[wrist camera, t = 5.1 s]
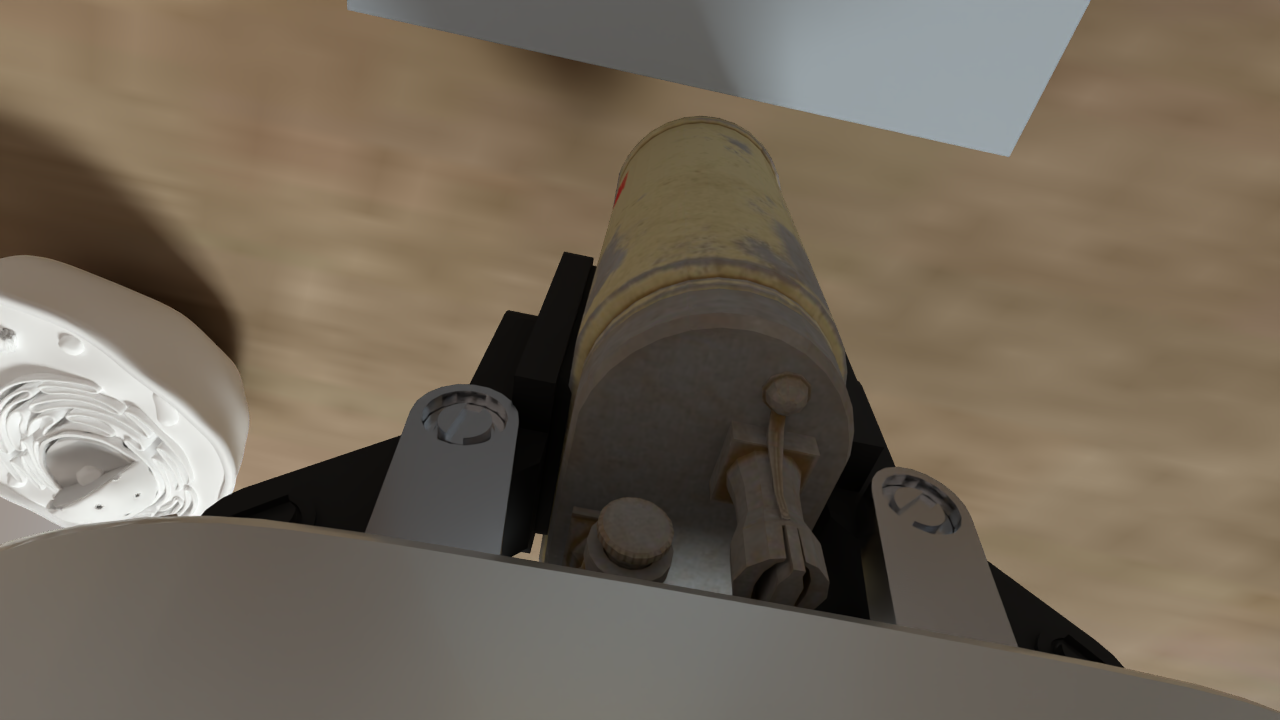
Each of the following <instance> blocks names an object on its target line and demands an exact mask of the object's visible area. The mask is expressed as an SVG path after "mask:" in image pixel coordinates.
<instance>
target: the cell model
mask: <svg viewBox="0 0 1280 720" xmlns="http://www.w3.org/2000/svg"><path fill="white" fill-rule="evenodd" d="M248 430H249V409H248V404H247V400H246V396H245V392H244V387H243V382H242V379H241V376H240V373H239V371H238V369H237V367H236V365H235V364H234V363H233V361H232V360H231V359H230V358H229V357H228V356H227V355H226V354H225V353H224V352H223V351H222V350H221V349H220V348H219V347H218V346H217V345H216V344H215V343H214V342H213V341H212V340H211V339H210V338H209V337H208V336H207V335H206V334H205V333H204V332H203V331H202V330H201V329H200V328H199V327H198V326H196V325H195V324H194V323H193V322H192V321H191V320H190V319H188V318H187V317H186V316H184V315H183V314H181V313H180V312H178V311H176V310H174V309H173V308H171V307H169V306H167V305H165V304H163V303H161V302H159V301H157V300H154V299H152V298H150V297H147V296H145V295H143V294H140V293H138V292H136V291H133V290H131V289H129V288H126V287H124V286H122V285H119V284H117V283H114V282H112V281H109V280H107V279H104V278H102V277H99V276H97V275H94V274H92V273H90V272H87V271H85V270H82V269H79V268H77V267H74V266H72V265H69V264H66V263H63V262H60V261H57V260H54V259H49V258H45V257H39V256H31V255H16V256H9V257H5V258H0V497H2V498H4V499H6V500H8V501H10V502H12V503H15V504H17V505H19V506H21V507H24V508H26V509H28V510H30V511H32V512H34V513H36V514H38V515H40V516H42V517H44V518H46V519H47V520H49V521H51V522H53V523H55V524H56V525H59V526H60V527H63V528H67V527H72V526H77V525H83V524H91V523H100V522H108V521H117V520H126V519H134V518H143V517H160V516H166V515H171V514H177V515H178V516H201V515H202V514H203V513H204V511H205V510H206V509H208V508H209V507H210V506H212V505H213V504H215V503H216V502H217V501H219V500H220V499H222V498H223V497H225V496H227V495H229V494H232V492H233V490H234V487H235V482H236V477H237V474H238V472H239V469H240V466H241V463H242V459H243V455H244V450H245V443H246V439H247V435H248Z"/></svg>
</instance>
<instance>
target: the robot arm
mask: <svg viewBox="0 0 1280 720" xmlns="http://www.w3.org/2000/svg"><path fill="white" fill-rule="evenodd" d="M596 268H597V266H593V258H592V257H587V256H582V255H578V254H573V253H568V252H564V253H563V256H562V258H561V261H560V263H559V266H558V268H557V271H556V273H555V276H554V278H553V281H552V283H551V286H550V288H549V290H548V293H547V295H546V298H545V300H544V303H543V305H542V308H541V310H540V313H539V315H538V316H535V315H530V314H525V313H520V312H515V311H510V310H508V311H506V313H505V314H504V316H503V318H502V320H501V322H500V324H499V326H498V328H497V330H496V332H495V334H494V336H493V338H492V340H491V342H490V344H489V346H488V348H487V350H486V352H485V354H484V357H483V359H482V361H481V363H480V365H479V367H478V369H477V371H476V373H475V375H474V377H473V379H472V381H471V383H470V385H469V384H456V385H450V386H445V387H440V388H438V389H435V390H433V391H430V392H428V393H427V394H425V395H424V396H423V397H421V398H420V399H419V400H417V401H416V403H415V404H414V406H413V407H412V409H411V411H410V413H409V416H408V418H407V421H406V424H405V426H404V429H403V432H402V435H401V436H398V437H395V438H392V439H389V440H386V441H383V442H380V443H377V444H374V445H371V446H368V447H365V448H362V449H359V450H356V451H353V452H350V453H347V454H344V455H341V456H338V457H335V458H332V459H329V460H326V461H323V462H320V463H317V464H314V465H311V466H308V467H305V468H302V469H299V470H296V471H293V472H290V473H287V474H284V475H281V476H278V477H275V478H272V479H269V480H266V481H263V482H260V483H258V484H255V485H252V486H249V487H246V488H243V489H241V490H238V491H236V492H234V493H232V494H229V495H227V496H225V497H223V498H222V499H220V500H219V501H217V502H216V503H215V504H213V505H212V506H210V507H209V508H208V509H206V510H205V511H204V513H203V514H202V515H201V516H178V515H177V514H171V515H166V516H160V517H143V518H134V519H126V520H117V521H108V522H100V523H91V524H83V525H77V526H72V527H67V528H62V529H57V530H52V531H47V532H43V533H39V534H35V535H31V536H27V537H23V538H19V539H15V540H12V541H9V542H7V543H4V544H1V545H0V720H1280V712H1279V711H1277V710H1274V709H1271V708H1269V707H1266V706H1264V705H1261V704H1258V703H1256V702H1253V701H1250V700H1248V699H1245V698H1242V697H1238V696H1235V695H1232V694H1228V693H1225V692H1221V691H1218V690H1215V689H1211V688H1208V687H1204V686H1201V685H1197V684H1193V683H1189V682H1184V681H1180V680H1175V679H1171V678H1166V677H1162V676H1157V675H1153V674H1148V673H1144V672H1139V671H1135V670H1130V669H1126V668H1124V667H1123V666H1122V665H1121V664H1120V662H1119V661H1118V660H1117V659H1116V658H1115V657H1114V656H1113V655H1112V654H1111V653H1110V652H1109V651H1108V650H1106V649H1105V648H1104V647H1103V646H1102V645H1100V644H1099V643H1098V642H1097V641H1096V640H1094V639H1093V638H1092V637H1090V636H1089V635H1088V634H1086V633H1085V632H1084V631H1082V630H1081V629H1079V628H1078V627H1077V626H1075V625H1074V624H1073V623H1071V622H1070V621H1069V620H1067V619H1066V618H1064V617H1063V616H1062V615H1060V614H1059V613H1058V612H1056V611H1055V610H1054V609H1052V608H1051V607H1050V606H1048V605H1047V604H1045V603H1044V602H1043V601H1041V600H1040V599H1039V598H1037V597H1036V596H1035V595H1033V594H1032V593H1030V592H1029V591H1028V590H1026V589H1025V588H1024V587H1022V586H1021V585H1020V584H1018V583H1017V582H1016V581H1014V580H1013V579H1011V578H1010V577H1009V576H1007V575H1006V574H1005V573H1003V572H1002V571H1001V570H999V569H998V568H996V567H995V566H994V565H992V564H991V563H990V562H988V561H987V559H986V556H985V554H984V551H983V548H982V545H981V543H980V540H979V537H978V534H977V531H976V529H975V526H974V523H973V520H972V518H971V516H970V514H969V512H968V510H967V508H966V506H965V505H964V504H963V502H962V501H961V500H960V499H959V498H958V497H957V496H956V495H955V493H953V492H952V491H951V490H950V489H948V488H947V487H946V486H944V485H943V484H942V483H940V482H939V481H937V480H935V479H933V478H932V477H930V476H928V475H926V474H923V473H921V472H918V471H915V470H913V469H908V468H902V467H895V465H894V462H893V460H892V457H891V455H890V452H889V450H888V448H887V445H886V443H885V440H884V438H883V436H882V433H881V431H880V428H879V426H878V423H877V421H876V419H875V416H874V414H873V411H872V409H871V407H870V404H869V402H868V399H867V397H866V394H865V392H864V390H863V387H862V385H861V384H860V382H859V381H857V379H856V377H855V374H854V372H853V369H852V367H851V364H850V362H849V360H848V357H847V355H846V352H845V356H846V364H847V379H846V389H847V392H848V395H849V398H850V401H851V404H852V407H853V421H854V436H853V442H852V448H851V454H850V457H849V459H848V461H847V463H846V465H845V467H844V469H843V471H842V473H841V475H840V477H839V479H838V481H837V483H836V485H835V487H834V489H833V491H832V493H831V494H830V496H829V498H828V500H827V502H826V504H825V506H824V508H823V510H822V512H821V514H820V516H819V518H818V520H817V522H816V524H815V526H814V528H813V530H812V533H813V534H814V536H815V537H816V538H817V540H818V541H819V542H820V544H821V548H822V552H823V557H824V561H825V565H826V569H827V574H828V578H829V588H828V594H827V599H825V600H824V601H823V602H822V603H821V604H820V605H819V606H817V607H816V608H815V609H814V610H811V609H805V608H800V607H794V606H789V605H783V604H777V603H772V602H766V601H761V600H755V599H749V598H744V597H738V596H732V595H727V594H721V593H715V592H710V591H704V590H698V589H693V588H687V587H681V586H676V585H670V584H664V583H659V582H653V581H647V580H642V579H636V578H630V577H624V576H619V575H613V574H607V573H601V572H595V571H589V570H584V569H578V568H572V567H566V566H560V565H554V564H549V563H543V562H537V561H531V560H525V559H519V558H514V557H512V556H514V555H516V554H518V553H520V552H525V553H530V552H531V548H532V544H533V540H534V536H535V533H538V534H543V535H548V529H549V523H550V517H551V511H552V505H553V499H554V494H555V488H556V482H557V476H558V470H559V464H560V458H561V452H562V447H563V441H564V435H565V429H566V423H567V417H568V411H569V405H570V400H571V394H572V393H571V390H570V388H569V380H570V374H571V369H572V363H573V357H574V351H575V345H576V340H577V336H578V333H579V329H580V325H581V322H582V318H583V315H584V311H585V308H586V304H587V300H588V297H589V293H590V290H591V286H592V282H593V279H594V275H595V272H596Z"/></svg>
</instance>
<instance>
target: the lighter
mask: <svg viewBox="0 0 1280 720" xmlns="http://www.w3.org/2000/svg"><path fill="white" fill-rule="evenodd" d="M846 379H847V364H846V356H845V348H844V346H843V343H842V340H841V338H840V335H839V333H838V330H837V328H836V325H835V323H834V320H833V318H832V315H831V313H830V310H829V308H828V305H827V303H826V301H825V298H824V296H823V293H822V291H821V288H820V286H819V284H818V281H817V279H816V276H815V274H814V271H813V269H812V267H811V264H810V262H809V259H808V257H807V254H806V252H805V249H804V247H803V245H802V242H801V240H800V237H799V235H798V232H797V230H796V228H795V225H794V223H793V220H792V218H791V215H790V213H789V210H788V208H787V206H786V203H785V201H784V198H783V196H782V193H781V189H780V183H779V176H778V174H777V171H776V169H775V166H774V164H773V161H772V159H771V157H770V155H769V154H768V152H767V151H766V149H765V148H764V146H763V145H762V144H761V143H760V142H759V141H758V140H757V139H756V138H755V137H754V136H753V135H752V134H751V133H750V132H748V131H747V130H745V129H743V128H742V127H740V126H738V125H737V124H735V123H732V122H729V121H726V120H723V119H721V118H715V117H707V116H695V117H684V118H681V119H678V120H674V121H671V122H668V123H666V124H664V125H662V126H660V127H659V128H657V129H655V130H653V131H651V132H650V133H649V134H648V135H647V136H646V137H644V138H643V139H642V140H641V141H640V142H638V144H637V145H636V146H635V148H634V149H633V150H632V151H631V153H630V154H629V155H628V157H627V159H626V160H625V162H624V164H623V166H622V168H621V170H620V173H619V178H618V184H617V189H616V195H615V200H614V206H613V211H612V214H611V218H610V221H609V225H608V229H607V232H606V236H605V239H604V243H603V247H602V250H601V254H600V257H599V261H598V264H597V268H596V272H595V275H594V279H593V282H592V286H591V290H590V293H589V297H588V300H587V304H586V308H585V311H584V315H583V318H582V322H581V325H580V329H579V333H578V336H577V340H576V345H575V351H574V357H573V363H572V369H571V374H570V380H569V388H570V390H571V393H572V394H571V400H570V405H569V411H568V417H567V423H566V429H565V435H564V441H563V447H562V452H561V458H560V464H559V470H558V476H557V482H556V488H555V494H554V499H553V505H552V511H551V517H550V523H549V529H548V535H543V537H542V543H541V549H540V555H539V562H543V563H549V564H554V565H560V566H566V567H572V568H578V569H584V570H589V571H595V572H601V573H607V574H613V575H619V576H624V577H630V578H636V579H642V580H647V581H653V582H659V583H664V584H670V585H676V586H681V587H687V588H693V589H698V590H704V591H710V592H715V593H721V594H727V595H732V596H738V597H744V598H749V599H755V600H761V601H766V602H772V603H777V604H783V605H789V606H794V607H800V608H805V609H811V610H814V609H815V608H816V607H817V606H819V605H820V604H821V603H822V602H823V601H824V600H825V599H827V594H828V588H829V578H828V574H827V569H826V565H825V561H824V557H823V552H822V548H821V544H820V542H819V541H818V540H817V538H816V537H815V536H814V534H813V533H812V530H813V528H814V526H815V524H816V522H817V520H818V518H819V516H820V514H821V512H822V510H823V508H824V506H825V504H826V502H827V500H828V498H829V496H830V494H831V493H832V491H833V489H834V487H835V485H836V483H837V481H838V479H839V477H840V475H841V473H842V471H843V469H844V467H845V465H846V463H847V461H848V459H849V457H850V454H851V448H852V442H853V436H854V421H853V407H852V404H851V401H850V398H849V395H848V392H847V389H846Z"/></svg>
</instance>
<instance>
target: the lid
mask: <svg viewBox="0 0 1280 720" xmlns="http://www.w3.org/2000/svg"><path fill="white" fill-rule="evenodd" d="M1089 2H1090V0H347V8H348V10H351V11H356V12H360V13H365V14H369V15H374V16H378V17H383V18H387V19H392V20H396V21H401V22H405V23H410V24H414V25H419V26H423V27H428V28H432V29H436V30H441V31H445V32H450V33H454V34H459V35H463V36H468V37H472V38H477V39H481V40H486V41H490V42H495V43H499V44H504V45H508V46H513V47H517V48H522V49H526V50H531V51H535V52H540V53H544V54H549V55H553V56H558V57H562V58H567V59H571V60H576V61H580V62H585V63H589V64H594V65H598V66H603V67H607V68H612V69H616V70H621V71H625V72H630V73H634V74H639V75H643V76H648V77H652V78H657V79H661V80H666V81H670V82H675V83H679V84H683V85H688V86H692V87H697V88H701V89H706V90H710V91H715V92H719V93H724V94H728V95H733V96H737V97H742V98H746V99H751V100H755V101H760V102H764V103H769V104H773V105H778V106H782V107H787V108H791V109H796V110H800V111H805V112H809V113H814V114H818V115H823V116H827V117H832V118H836V119H841V120H845V121H850V122H854V123H859V124H863V125H868V126H872V127H877V128H881V129H886V130H890V131H895V132H899V133H904V134H908V135H913V136H917V137H922V138H926V139H930V140H935V141H939V142H944V143H948V144H953V145H957V146H962V147H966V148H971V149H975V150H980V151H984V152H989V153H993V154H998V155H1002V156H1007V157H1009V156H1010V154H1011V152H1012V150H1013V149H1014V147H1015V145H1016V143H1017V141H1018V139H1019V137H1020V135H1021V133H1022V131H1023V129H1024V127H1025V125H1026V124H1027V122H1028V120H1029V118H1030V116H1031V114H1032V112H1033V110H1034V108H1035V106H1036V104H1037V102H1038V100H1039V98H1040V97H1041V95H1042V93H1043V91H1044V89H1045V87H1046V85H1047V83H1048V81H1049V79H1050V77H1051V75H1052V73H1053V72H1054V70H1055V68H1056V66H1057V64H1058V62H1059V60H1060V58H1061V56H1062V54H1063V52H1064V50H1065V48H1066V47H1067V45H1068V43H1069V41H1070V39H1071V37H1072V35H1073V33H1074V31H1075V29H1076V27H1077V25H1078V23H1079V21H1080V20H1081V18H1082V16H1083V14H1084V12H1085V10H1086V8H1087V6H1088V4H1089Z"/></svg>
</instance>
